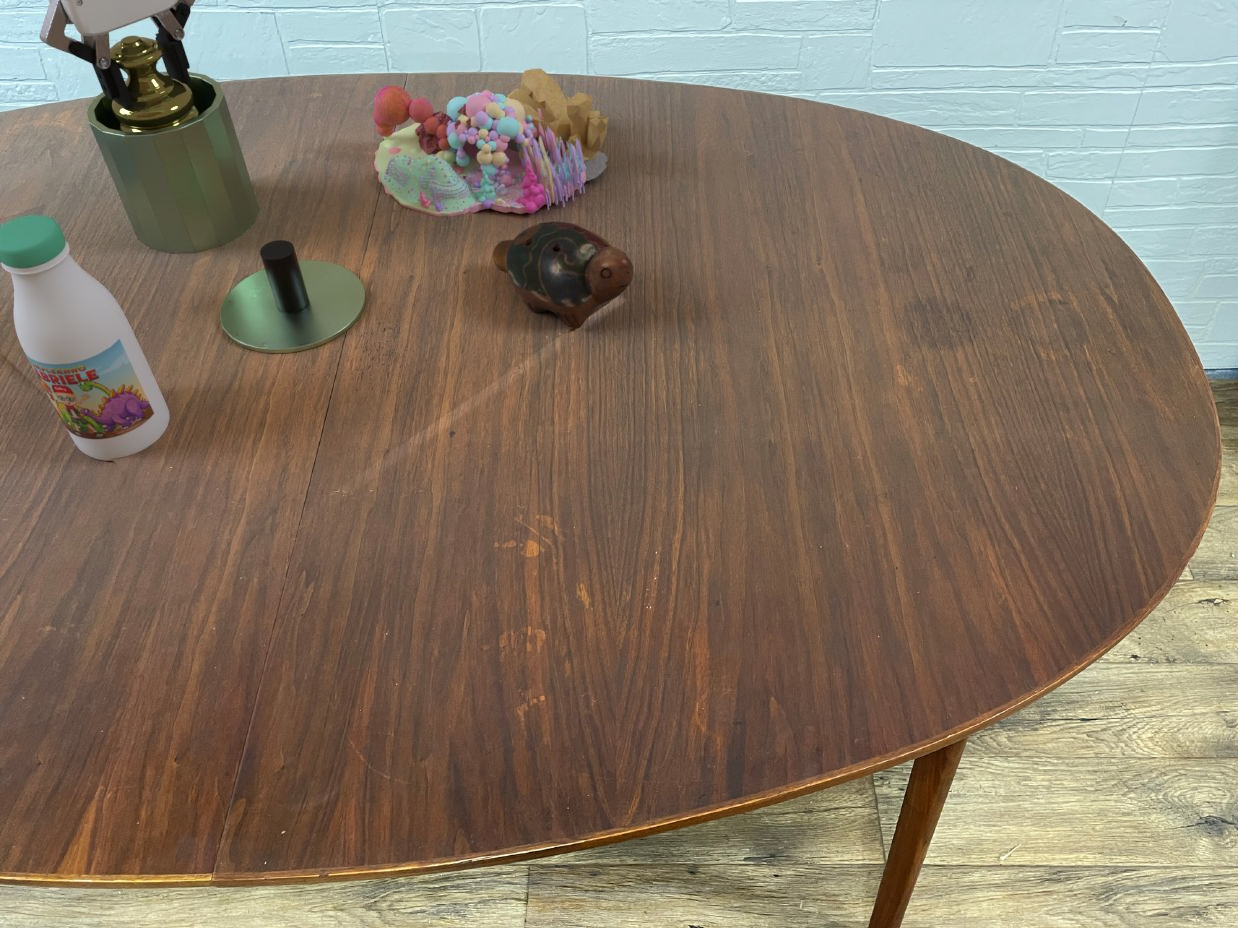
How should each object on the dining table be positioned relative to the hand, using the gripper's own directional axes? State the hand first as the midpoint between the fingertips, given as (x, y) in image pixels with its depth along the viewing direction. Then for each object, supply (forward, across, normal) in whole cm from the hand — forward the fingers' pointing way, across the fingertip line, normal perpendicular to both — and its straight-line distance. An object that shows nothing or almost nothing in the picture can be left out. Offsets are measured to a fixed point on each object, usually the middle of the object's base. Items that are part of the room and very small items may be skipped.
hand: (150, 89), depth 98 cm
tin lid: (+14, +2, +20) cm, 25 cm away
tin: (+15, 0, 0) cm, 15 cm away
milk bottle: (+15, +21, +22) cm, 34 cm away
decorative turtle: (+15, -16, +38) cm, 44 cm away
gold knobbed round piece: (+5, 0, 0) cm, 5 cm away
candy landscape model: (+15, -28, +15) cm, 35 cm away
